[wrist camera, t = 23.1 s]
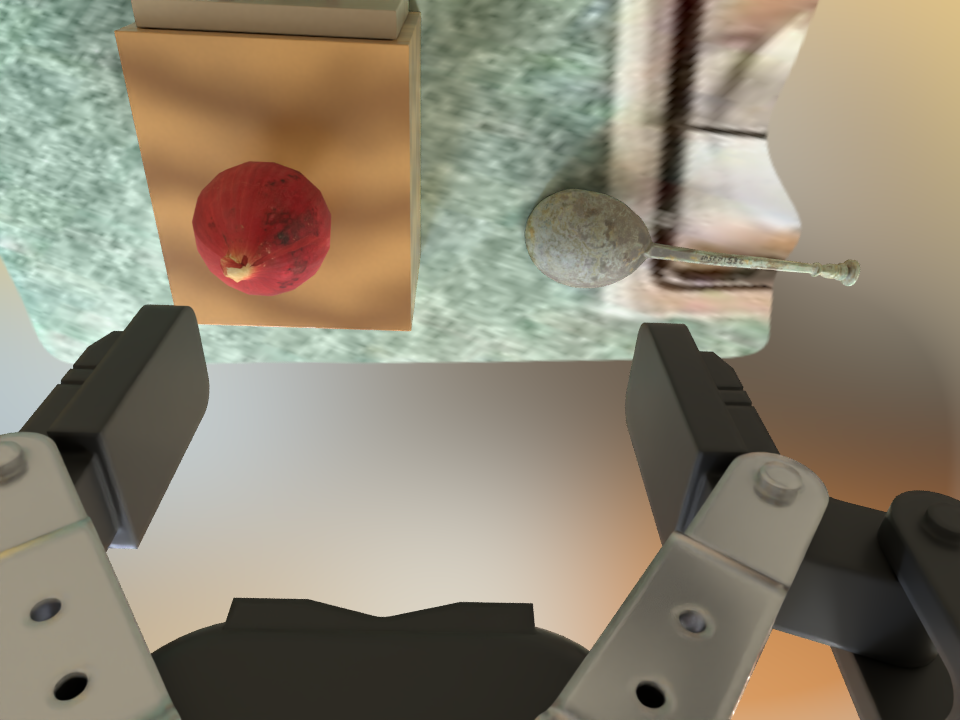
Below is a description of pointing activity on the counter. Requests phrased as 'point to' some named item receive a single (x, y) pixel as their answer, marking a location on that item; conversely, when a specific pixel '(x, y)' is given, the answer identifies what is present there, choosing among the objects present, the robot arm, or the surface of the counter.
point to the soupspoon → (625, 244)
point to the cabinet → (287, 160)
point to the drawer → (278, 17)
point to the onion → (262, 228)
